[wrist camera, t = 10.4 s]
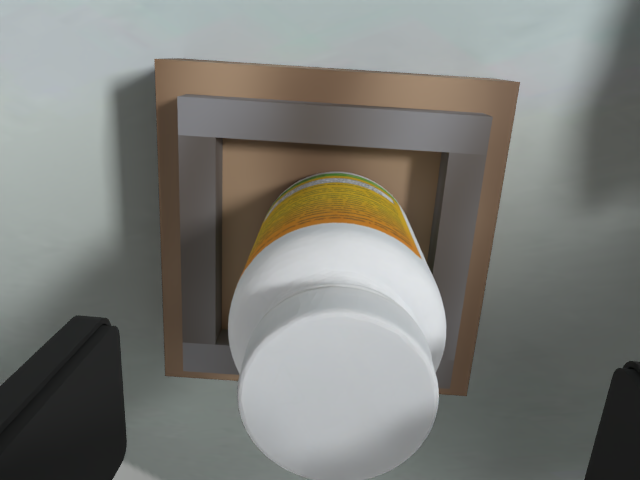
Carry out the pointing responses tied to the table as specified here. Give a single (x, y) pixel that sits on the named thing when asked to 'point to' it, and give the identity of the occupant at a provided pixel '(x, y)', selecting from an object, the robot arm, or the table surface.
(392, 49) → the table surface
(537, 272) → the table surface
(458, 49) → the table surface
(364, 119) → the stand
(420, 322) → the supplement bottle
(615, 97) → the table surface
